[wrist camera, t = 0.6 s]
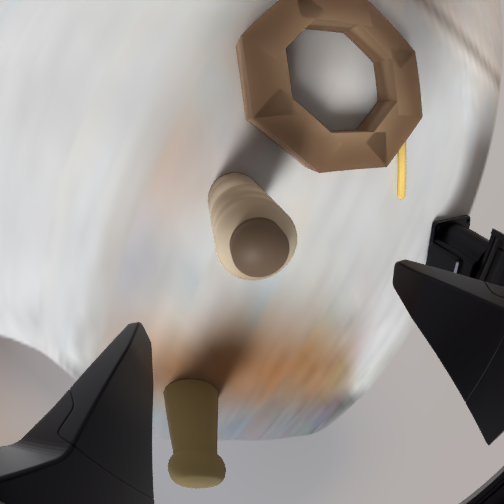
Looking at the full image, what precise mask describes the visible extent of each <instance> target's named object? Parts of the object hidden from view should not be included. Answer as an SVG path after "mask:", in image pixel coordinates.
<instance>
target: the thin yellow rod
mask: <svg viewBox="0 0 504 504" xmlns="http://www.w3.org/2000/svg"><path fill="white" fill-rule="evenodd" d="M405 190H406V141H405V143H404V144H403V145H402V147H401V148H400V150H399V151H398V197H399V198H400V199H403V198H404V197H405Z"/></svg>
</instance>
